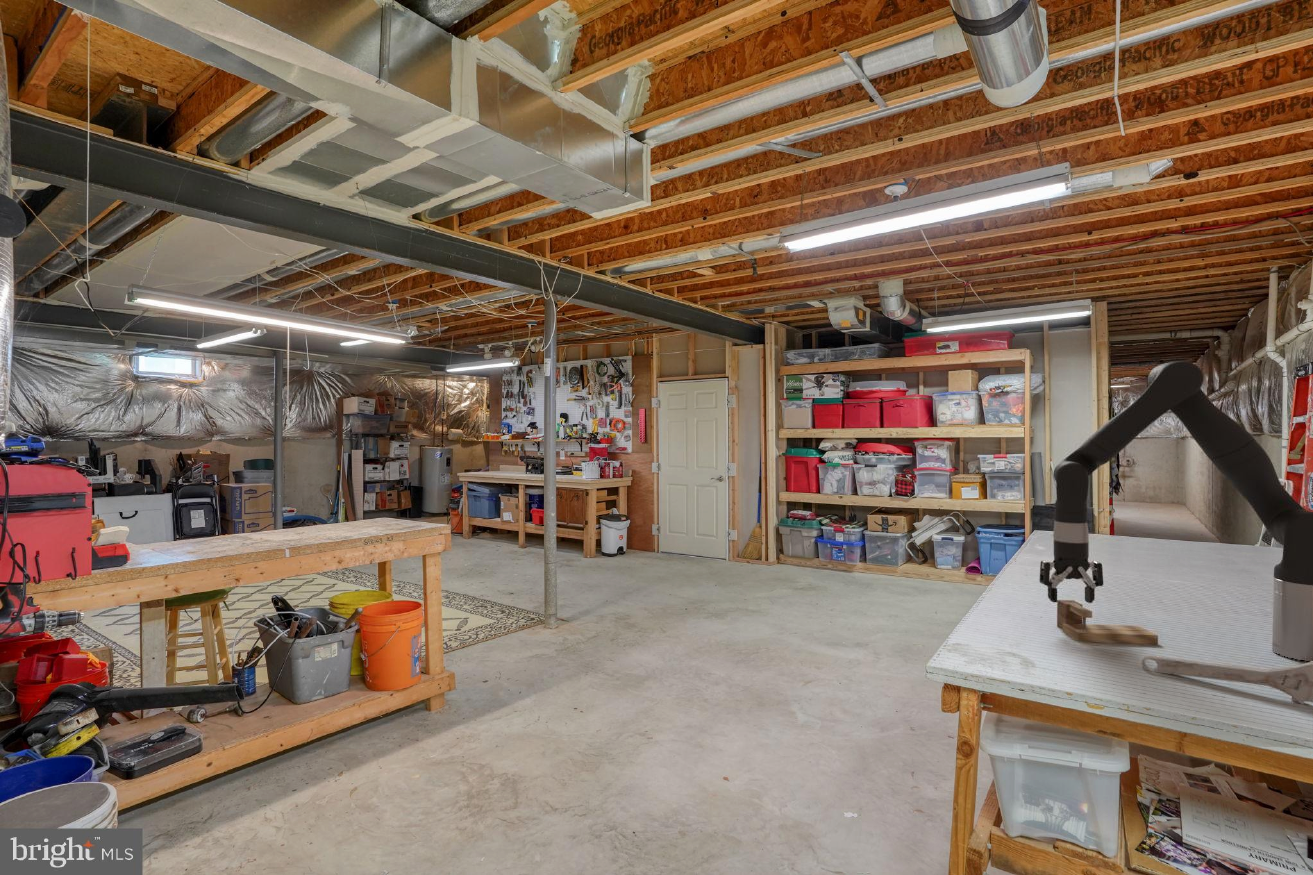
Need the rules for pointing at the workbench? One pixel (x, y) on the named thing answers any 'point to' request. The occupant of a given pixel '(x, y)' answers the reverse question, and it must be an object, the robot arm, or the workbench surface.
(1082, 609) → the gauge
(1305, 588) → the robot arm
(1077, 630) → the board
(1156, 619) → the workbench surface
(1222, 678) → the wrench
